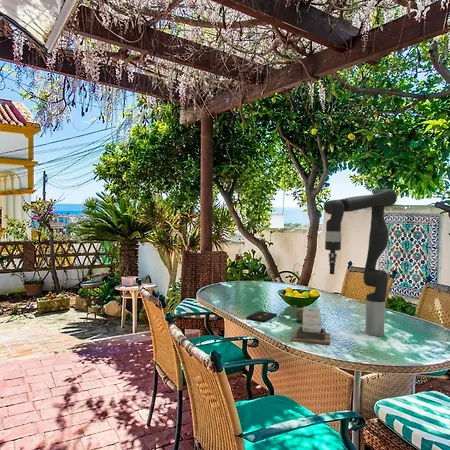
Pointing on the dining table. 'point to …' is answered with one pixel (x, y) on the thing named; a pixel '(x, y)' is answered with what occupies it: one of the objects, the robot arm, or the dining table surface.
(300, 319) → the brown cylinder
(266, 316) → the cassette tape
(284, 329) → the dining table surface
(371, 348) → the dining table surface
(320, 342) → the dock
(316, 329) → the ink cartridge box
